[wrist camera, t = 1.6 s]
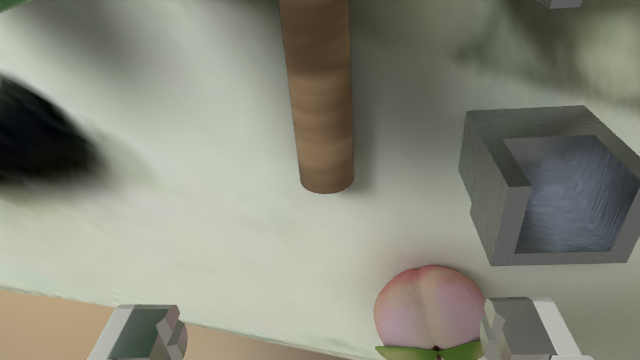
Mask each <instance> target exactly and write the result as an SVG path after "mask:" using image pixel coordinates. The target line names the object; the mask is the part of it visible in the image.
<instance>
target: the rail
mask: <svg viewBox="0 0 640 360" xmlns="http://www.w3.org/2000/svg"><path fill="white" fill-rule="evenodd" d="M278 2H279V10H280V18H281V26H282V34H283V42H284V51H285V59H286V67H287V75H288V83H289V91H290V99H291V107H292V116H293V124H294V132H295V140H296V148H297V156H298V164H299V172H300V181H301V184H302V186H303V187H304V188H306V189H307V190H309V191H311V192H314V193H319V194H331V193H336V192H340V191H342V190H344V189H346V188H348V187H349V186H350V185H351V184H352V183H353V181H354V151H353V120H352V89H351V59H350V28H349V0H278Z"/></svg>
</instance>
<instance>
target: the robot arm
mask: <svg viewBox="0 0 640 360" xmlns="http://www.w3.org/2000/svg"><path fill="white" fill-rule="evenodd" d="M484 310H485V313H486V316H484V317H483V318H482V319H481V323H480V340H481V345H482V349H483V352H484V355H485V357H486V358H487V359H488V360H595V359H593V358H592V357H591V356H589V355H582V353H581V351H580V349H579V348H578V346H577V344H576V342H575V340H574V338H573V336H572V334H571V333H570V331H569V329H568V327H567V325H566V323H565V321H564V319H563V318H562V316H561V314H560V312H559V310H558V308H557V306H556V304H555V303H554V301H553V300H552V299H551V298H550V297H528V298H527V297H510V298H488V299H487V300H486V301H485V305H484ZM179 314H180V312H179V309H178V307H177V305H141V304H137V305H119V306H118V307H117V308H116V309H115V310H114V311H113V313H112V315H111V317H110V318H109V320H108V322H107V324H106V326H105V328H104V330H103V331H102V333H101V335H100V337H99V339H98V341H97V343H96V344H95V346H94V348H93V350H92V352H91V354H90V355H89V357H88V359H87V360H182V359H183V358H184V355H185V351H186V347H187V338H188V337H187V329H186V326H185V324H184V323H183V322H182V321H180V320H179V319H178V317H179Z"/></svg>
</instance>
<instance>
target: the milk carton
mask: <svg viewBox="0 0 640 360" xmlns="http://www.w3.org/2000/svg"><path fill="white" fill-rule="evenodd" d="M29 1H32V0H0V13H1V12H3V11H6V10H9V9H11V8H14V7H16V6H19V5H21V4H24V3H26V2H29Z"/></svg>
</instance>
